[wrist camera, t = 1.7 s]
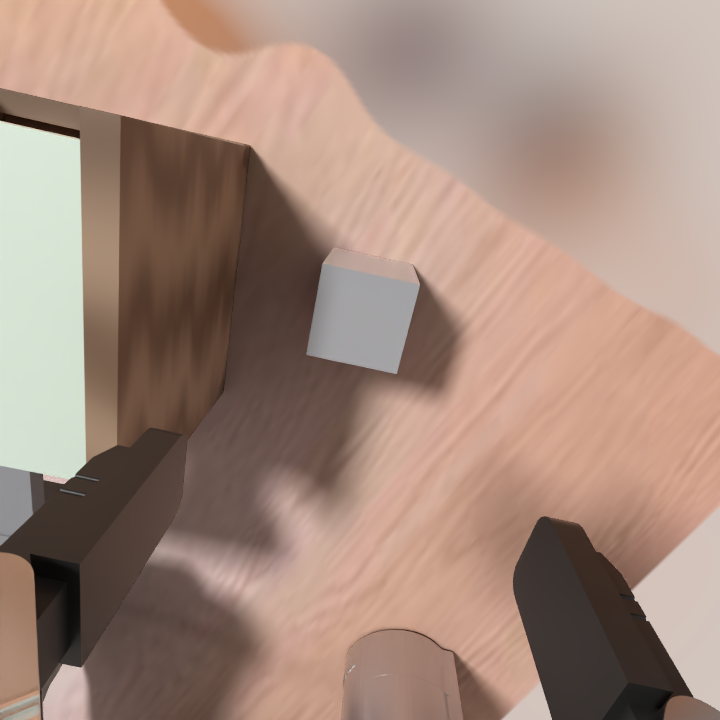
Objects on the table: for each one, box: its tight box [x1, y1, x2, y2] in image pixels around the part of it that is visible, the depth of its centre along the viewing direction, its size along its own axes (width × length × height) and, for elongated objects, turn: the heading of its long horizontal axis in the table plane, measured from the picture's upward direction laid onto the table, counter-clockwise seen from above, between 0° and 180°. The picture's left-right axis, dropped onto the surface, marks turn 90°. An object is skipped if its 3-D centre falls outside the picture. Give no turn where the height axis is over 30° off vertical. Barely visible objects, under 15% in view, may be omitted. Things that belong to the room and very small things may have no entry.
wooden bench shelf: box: [0, 88, 250, 463], centre depth 22 cm, size 16×15×14 cm
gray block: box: [306, 247, 420, 374], centre depth 26 cm, size 5×5×6 cm
